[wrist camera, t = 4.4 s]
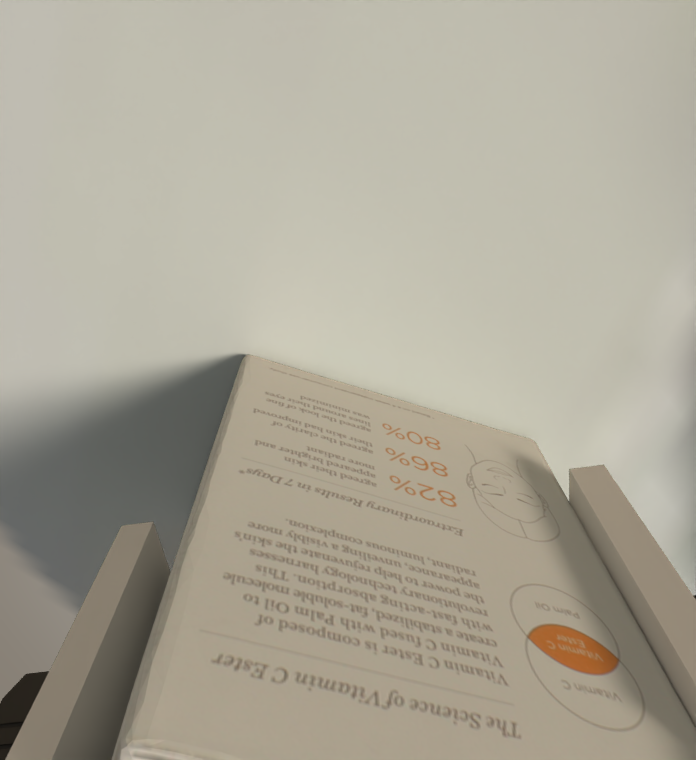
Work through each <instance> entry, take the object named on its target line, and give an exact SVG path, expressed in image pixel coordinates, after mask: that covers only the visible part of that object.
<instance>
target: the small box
mask: <svg viewBox="0 0 696 760" xmlns="http://www.w3.org/2000/svg"><path fill="white" fill-rule="evenodd" d="M112 760H696V727H695V725H694V723H693V722H692V720H691V718H690V716H689V715H688V713H687V711H686V709H685V707H684V706H683V704H682V702H681V700H680V699H679V697H678V695H677V693H676V692H675V690H674V688H673V686H672V684H671V683H670V681H669V679H668V677H667V676H666V674H665V672H664V670H663V668H662V666H661V664H660V663H659V661H658V659H657V657H656V655H655V654H654V652H653V650H652V648H651V647H650V645H649V643H648V641H647V639H646V637H645V635H644V634H643V632H642V630H641V629H640V627H639V626H638V624H637V622H636V620H635V618H634V616H633V615H632V613H631V611H630V609H629V607H628V605H627V604H626V602H625V600H624V598H623V597H622V595H621V593H620V591H619V590H618V588H617V586H616V584H615V583H614V581H613V579H612V578H611V576H610V574H609V572H608V570H607V568H606V566H605V565H604V563H603V561H602V560H601V558H600V556H599V554H598V552H597V550H596V549H595V547H594V545H593V544H592V542H591V540H590V538H589V536H588V535H587V533H586V531H585V530H584V528H583V526H582V524H581V522H580V521H579V519H578V517H577V515H576V513H575V511H574V510H573V508H572V506H571V504H570V503H569V501H568V499H567V497H566V496H565V494H564V492H563V490H562V489H561V487H560V485H559V483H558V482H557V480H556V478H555V476H554V474H553V473H552V471H551V469H550V467H549V465H548V463H547V462H546V460H545V458H544V456H543V454H542V453H541V451H540V449H539V447H538V445H537V443H536V442H535V441H533V440H532V439H530V438H525V437H521V436H518V435H515V434H511V433H508V432H504V431H500V430H497V429H494V428H490V427H487V426H484V425H481V424H478V423H474V422H471V421H468V420H464V419H461V418H458V417H455V416H452V415H448V414H445V413H442V412H438V411H435V410H431V409H428V408H424V407H421V406H418V405H414V404H411V403H408V402H405V401H401V400H398V399H395V398H392V397H388V396H385V395H382V394H378V393H375V392H372V391H369V390H365V389H362V388H359V387H355V386H352V385H348V384H345V383H342V382H338V381H335V380H332V379H328V378H325V377H322V376H318V375H315V374H312V373H308V372H305V371H302V370H299V369H295V368H292V367H289V366H285V365H282V364H279V363H276V362H272V361H269V360H266V359H263V358H260V357H257V356H253V355H246V356H245V357H244V358H243V360H242V362H241V364H240V367H239V370H238V373H237V376H236V379H235V382H234V385H233V388H232V391H231V394H230V397H229V400H228V403H227V406H226V409H225V412H224V415H223V418H222V421H221V424H220V427H219V429H218V432H217V435H216V438H215V441H214V444H213V447H212V450H211V453H210V456H209V459H208V462H207V465H206V468H205V471H204V474H203V477H202V480H201V483H200V486H199V489H198V492H197V495H196V498H195V501H194V504H193V507H192V510H191V513H190V516H189V519H188V522H187V525H186V528H185V531H184V534H183V537H182V540H181V543H180V546H179V549H178V552H177V555H176V558H175V561H174V564H173V567H172V570H171V573H170V576H169V579H168V582H167V585H166V588H165V591H164V594H163V597H162V600H161V603H160V606H159V609H158V612H157V615H156V618H155V621H154V624H153V627H152V630H151V634H150V637H149V640H148V643H147V646H146V649H145V652H144V655H143V658H142V662H141V665H140V668H139V671H138V674H137V677H136V680H135V683H134V687H133V690H132V693H131V696H130V700H129V703H128V706H127V710H126V713H125V716H124V720H123V723H122V726H121V730H120V733H119V736H118V740H117V743H116V746H115V750H114V753H113V756H112Z"/></svg>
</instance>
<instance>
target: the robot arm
mask: <svg viewBox="0 0 696 760" xmlns="http://www.w3.org/2000/svg"><path fill="white" fill-rule="evenodd" d="M569 503H570V504H571V506H572V508H573V510H574V511H575V513H576V515H577V517H578V519H579V521H580V522H581V524H582V526H583V528H584V530H585V531H586V533H587V535H588V536H589V538H590V540H591V542H592V544H593V545H594V547H595V549H596V550H597V552H598V554H599V556H600V558H601V560H602V561H603V563H604V565H605V566H606V568H607V570H608V572H609V574H610V576H611V578H612V579H613V581H614V583H615V584H616V586H617V588H618V590H619V591H620V593H621V595H622V597H623V598H624V600H625V602H626V604H627V605H628V607H629V609H630V611H631V613H632V615H633V616H634V618H635V620H636V622H637V624H638V626H639V627H640V629H641V630H642V632H643V634H644V635H645V637H646V639H647V641H648V643H649V645H650V647H651V648H652V650H653V652H654V654H655V655H656V657H657V659H658V661H659V663H660V664H661V666H662V668H663V670H664V672H665V674H666V676H667V677H668V679H669V681H670V683H671V684H672V686H673V688H674V690H675V692H676V693H677V695H678V697H679V699H680V700H681V702H682V704H683V706H684V707H685V709H686V711H687V713H688V715H689V716H690V718H691V720H692V722H693V723H694V725H695V727H696V595H695V596H693V595H692V593H691V592H690V590H689V589H688V588H687V586H686V585H685V583H684V582H683V580H682V579H681V577H680V576H679V574H678V573H677V571H676V570H675V568H674V567H673V566H672V564H671V563H670V561H669V560H668V558H667V557H666V555H665V554H664V552H663V551H662V549H661V548H660V547H659V545H658V544H657V542H656V541H655V539H654V538H653V536H652V535H651V533H650V532H649V530H648V529H647V527H646V526H645V525H644V523H643V522H642V520H641V519H640V517H639V516H638V514H637V513H636V511H635V510H634V508H633V507H632V505H631V504H630V503H629V501H628V500H627V498H626V497H625V495H624V494H623V492H622V491H621V489H620V488H619V486H618V485H617V483H616V482H615V481H614V479H613V478H612V476H611V475H610V473H609V472H608V470H607V469H606V467H605V466H604V465H597V466H589V467H582V468H574V469H569ZM170 573H171V572H170V569H169V566H168V563H167V560H166V557H165V555H164V552H163V549H162V546H161V543H160V540H159V537H158V534H157V531H156V528H155V525H154V522H147V523H139V524H131V525H123V526H121V528H120V530H119V532H118V534H117V536H116V538H115V540H114V542H113V544H112V546H111V548H110V550H109V552H108V554H107V556H106V558H105V560H104V562H103V564H102V566H101V568H100V570H99V572H98V574H97V576H96V578H95V580H94V582H93V584H92V586H91V588H90V590H89V592H88V594H87V596H86V598H85V600H84V602H83V604H82V606H81V608H80V610H79V612H78V614H77V616H76V618H75V620H74V622H73V624H72V626H71V628H70V631H69V632H68V635H67V637H66V639H65V641H64V643H63V645H62V647H61V649H60V651H59V653H58V655H57V657H56V659H55V661H54V663H53V665H52V667H51V669H50V671H47V672H39V673H30V674H26V675H25V676H24V677H23V678H22V679H21V680H20V681H19V682H18V683H17V684H16V685H15V686H14V687H13V688H12V689H11V690H10V691H9V692H8V694H7V695H6V696H5V697H4V698H3V699H2V701H1V703H0V760H112V756H113V753H114V750H115V746H116V743H117V740H118V736H119V733H120V730H121V726H122V723H123V720H124V716H125V713H126V710H127V706H128V703H129V700H130V696H131V693H132V690H133V687H134V683H135V680H136V677H137V674H138V671H139V668H140V665H141V662H142V658H143V655H144V652H145V649H146V646H147V643H148V640H149V637H150V634H151V630H152V627H153V624H154V621H155V618H156V615H157V612H158V609H159V606H160V603H161V600H162V597H163V594H164V591H165V588H166V585H167V582H168V579H169V576H170Z"/></svg>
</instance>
